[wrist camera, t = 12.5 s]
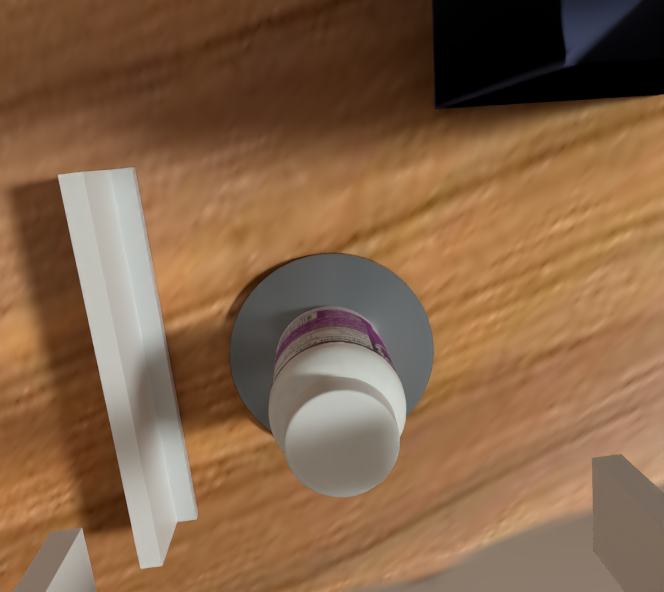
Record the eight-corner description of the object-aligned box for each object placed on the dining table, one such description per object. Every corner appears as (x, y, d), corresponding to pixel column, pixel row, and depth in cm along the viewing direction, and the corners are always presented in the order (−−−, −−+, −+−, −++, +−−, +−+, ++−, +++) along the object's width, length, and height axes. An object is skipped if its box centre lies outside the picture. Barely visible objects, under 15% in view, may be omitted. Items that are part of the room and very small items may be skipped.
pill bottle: (386, 403, 31) (422, 513, 21) (279, 410, 31) (269, 524, 21) (382, 298, 30) (420, 366, 20) (272, 305, 29) (257, 376, 20)
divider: (141, 521, 32) (119, 571, 28) (69, 174, 28) (32, 177, 24) (198, 514, 32) (183, 563, 28) (134, 167, 28) (108, 168, 24)
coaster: (246, 455, 32) (245, 460, 31) (216, 265, 29) (214, 267, 29) (438, 431, 32) (440, 436, 31) (423, 241, 30) (425, 242, 29)
